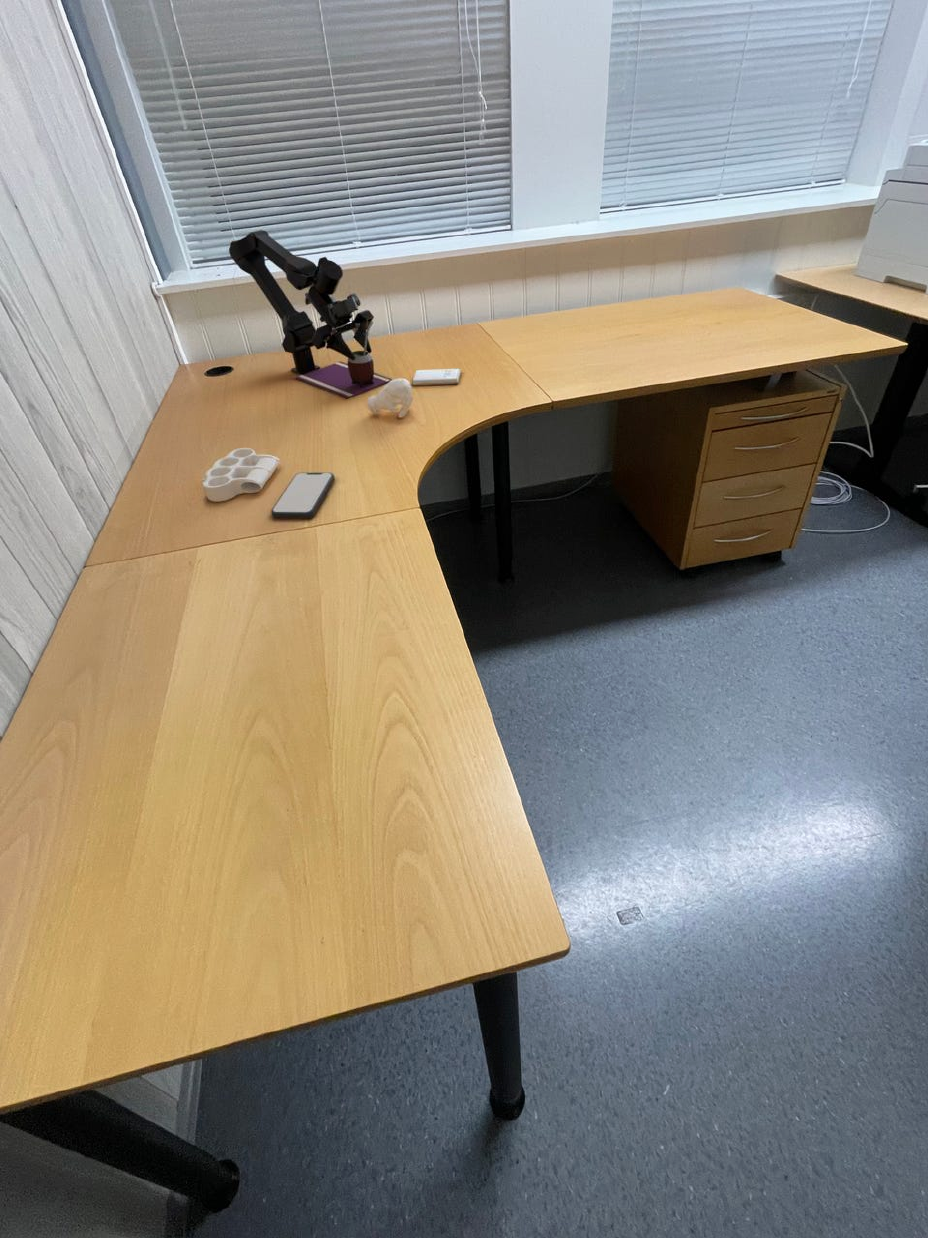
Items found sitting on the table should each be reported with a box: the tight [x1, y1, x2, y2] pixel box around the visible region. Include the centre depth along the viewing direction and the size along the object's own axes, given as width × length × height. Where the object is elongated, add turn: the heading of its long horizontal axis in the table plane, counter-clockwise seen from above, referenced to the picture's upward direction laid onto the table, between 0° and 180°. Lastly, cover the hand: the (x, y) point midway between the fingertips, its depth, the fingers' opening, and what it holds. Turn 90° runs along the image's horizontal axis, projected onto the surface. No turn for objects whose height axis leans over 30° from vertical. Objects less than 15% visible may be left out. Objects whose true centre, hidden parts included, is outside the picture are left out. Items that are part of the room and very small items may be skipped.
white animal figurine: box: [366, 378, 413, 419], centre depth 150 cm, size 6×8×12 cm
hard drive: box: [412, 368, 461, 386], centre depth 168 cm, size 2×8×12 cm
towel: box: [295, 361, 394, 400], centre depth 174 cm, size 26×16×1 cm, turn 44°
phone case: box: [270, 472, 335, 520], centre depth 123 cm, size 9×2×16 cm
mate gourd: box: [347, 321, 375, 387], centre depth 164 cm, size 8×8×15 cm
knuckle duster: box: [201, 447, 281, 503], centre depth 130 cm, size 3×18×15 cm
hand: (362, 355), depth 163 cm, fingers closed on mate gourd, 6 cm apart
